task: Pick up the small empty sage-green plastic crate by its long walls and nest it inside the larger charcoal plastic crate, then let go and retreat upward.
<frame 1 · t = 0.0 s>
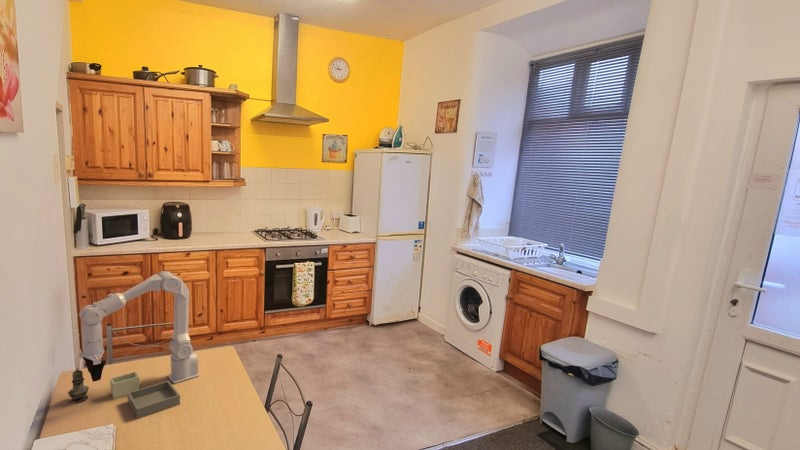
hand: (94, 376, 142), 10 cm above the table, fingers open, 7 cm apart
dark ornate statuette: (79, 400, 145), on the table
big crate: (154, 403, 145), on the table
small crate: (125, 392, 150), on the table
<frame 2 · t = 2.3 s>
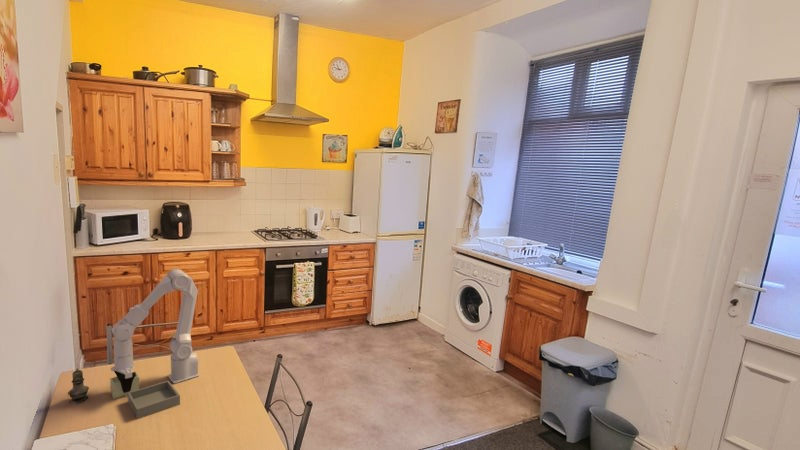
hand: (125, 388, 150), 2 cm above the table, fingers closed on small crate, 5 cm apart
small crate: (125, 392, 150), on the table, touching gripper
everything else where it was.
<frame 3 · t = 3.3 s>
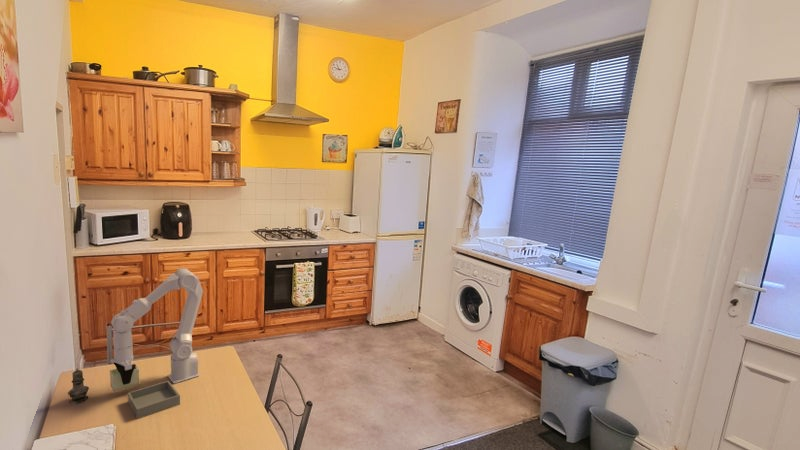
hand: (124, 380, 150), 5 cm above the table, fingers closed on small crate, 5 cm apart
small crate: (125, 384, 150), point 3 cm above the table, touching gripper
everything else where it was.
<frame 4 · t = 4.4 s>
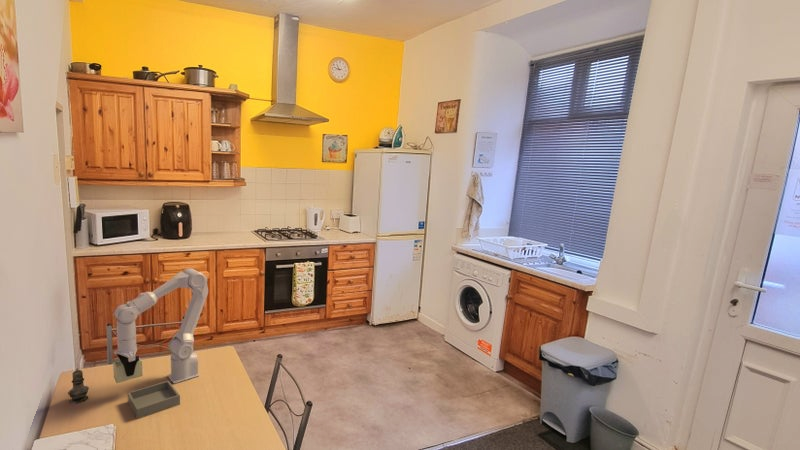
hand: (128, 372, 148), 9 cm above the table, fingers closed on small crate, 5 cm apart
small crate: (128, 376, 148), point 7 cm above the table, touching gripper
everything else where it was.
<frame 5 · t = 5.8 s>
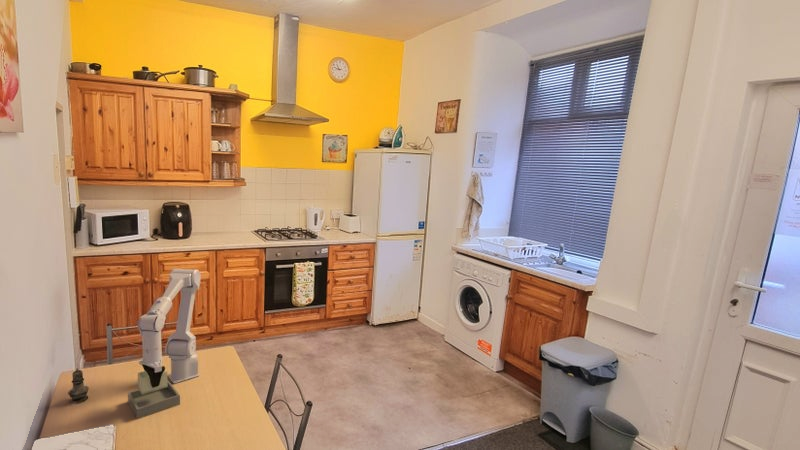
hand: (153, 383, 144), 8 cm above the table, fingers closed on small crate, 5 cm apart
small crate: (153, 387, 144), point 6 cm above the table, touching gripper
everything else where it was.
when the fingers open (4 cm above the table, at t = 7.0 s): small crate drops 1 cm, resting on big crate.
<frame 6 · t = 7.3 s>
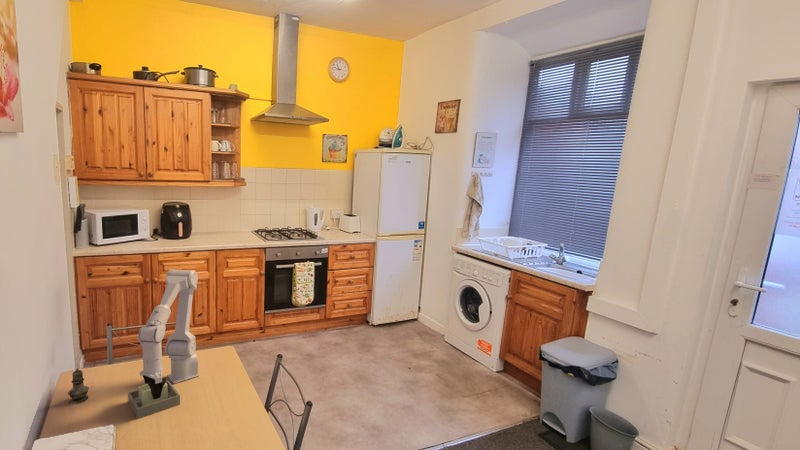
hand: (153, 393, 144), 4 cm above the table, fingers open, 7 cm apart
small crate: (153, 401, 144), point 1 cm above the table, touching big crate
everything else where it was.
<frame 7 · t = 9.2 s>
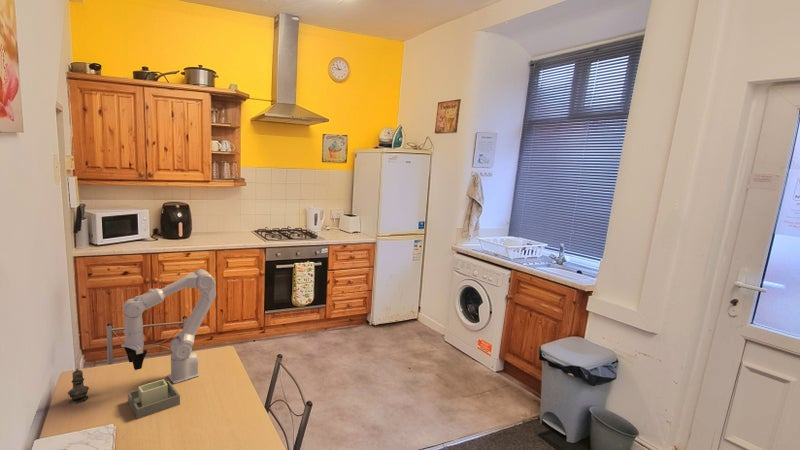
hand: (135, 365, 152), 9 cm above the table, fingers open, 7 cm apart
nothing on the table moved.
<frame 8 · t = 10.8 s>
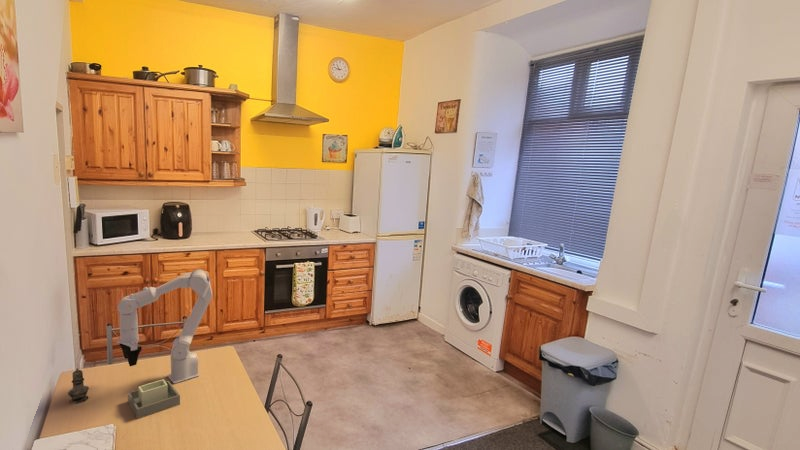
hand: (130, 361, 154), 9 cm above the table, fingers open, 7 cm apart
nothing on the table moved.
at the end: small crate inside the target area on the big crate (0.2 cm from its centre), point 0.8 cm above the big crate's base; small crate tilted 0°; the gripper is holding nothing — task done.
